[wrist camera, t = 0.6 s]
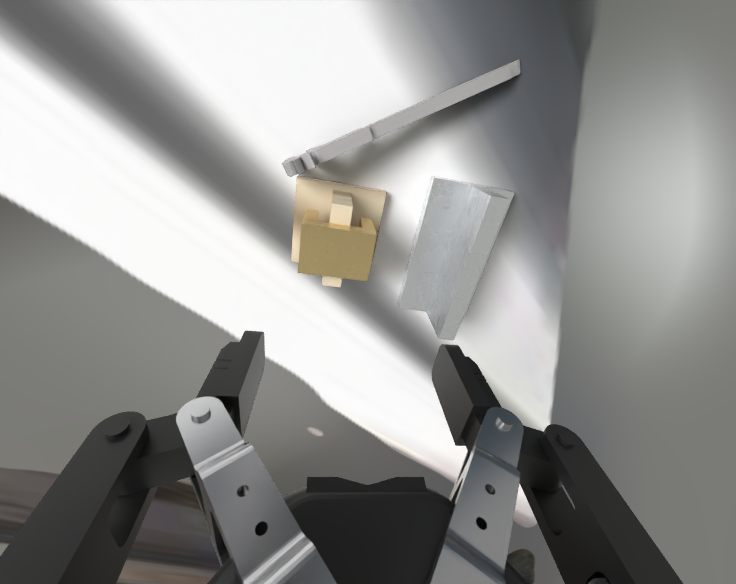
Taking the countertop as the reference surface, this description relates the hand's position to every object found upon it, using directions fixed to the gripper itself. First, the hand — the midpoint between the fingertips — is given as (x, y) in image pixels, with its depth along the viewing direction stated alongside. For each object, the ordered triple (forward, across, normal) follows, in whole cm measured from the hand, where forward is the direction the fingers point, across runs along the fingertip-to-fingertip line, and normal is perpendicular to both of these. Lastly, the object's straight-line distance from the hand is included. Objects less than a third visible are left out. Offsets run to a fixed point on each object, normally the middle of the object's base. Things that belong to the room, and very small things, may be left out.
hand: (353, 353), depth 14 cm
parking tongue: (+18, +1, 0) cm, 19 cm away
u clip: (+15, +1, 0) cm, 16 cm away
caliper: (+19, -3, -10) cm, 22 cm away
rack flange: (+18, -11, +1) cm, 22 cm away
